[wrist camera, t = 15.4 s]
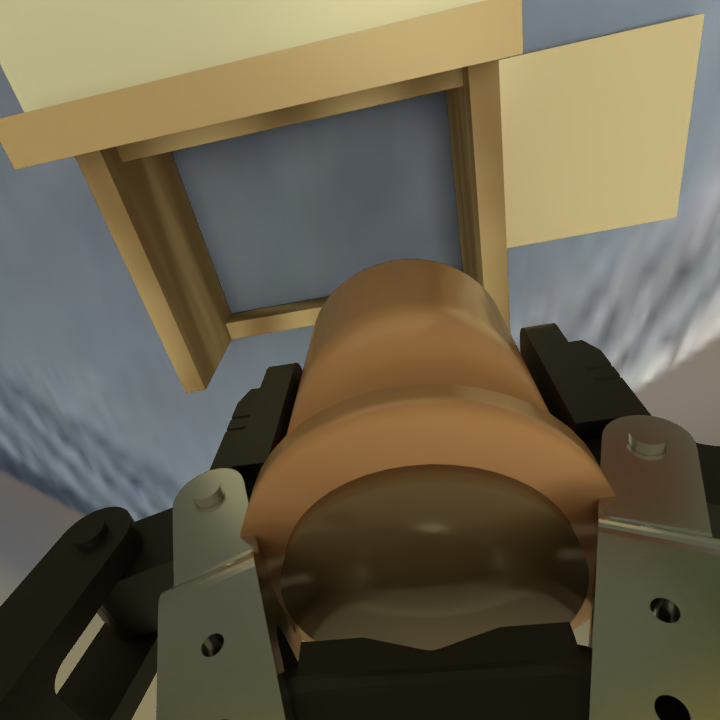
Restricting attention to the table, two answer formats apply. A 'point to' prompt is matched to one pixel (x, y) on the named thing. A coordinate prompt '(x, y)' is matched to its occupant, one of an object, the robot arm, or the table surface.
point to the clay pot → (424, 473)
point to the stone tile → (597, 131)
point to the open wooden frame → (188, 250)
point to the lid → (218, 61)
